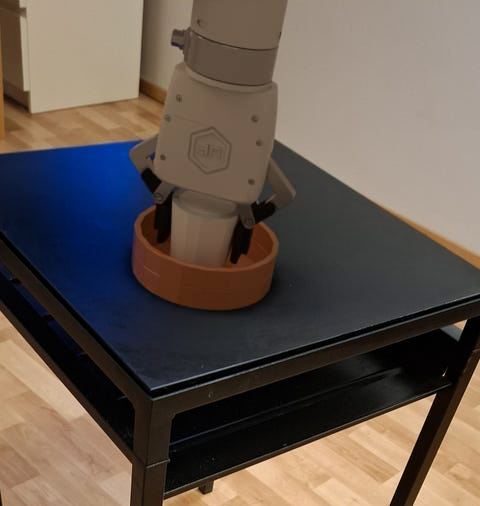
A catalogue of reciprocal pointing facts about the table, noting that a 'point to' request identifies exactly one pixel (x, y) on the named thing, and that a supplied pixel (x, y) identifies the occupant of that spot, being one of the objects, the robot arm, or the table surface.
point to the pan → (203, 270)
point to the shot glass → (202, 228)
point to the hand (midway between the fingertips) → (200, 246)
